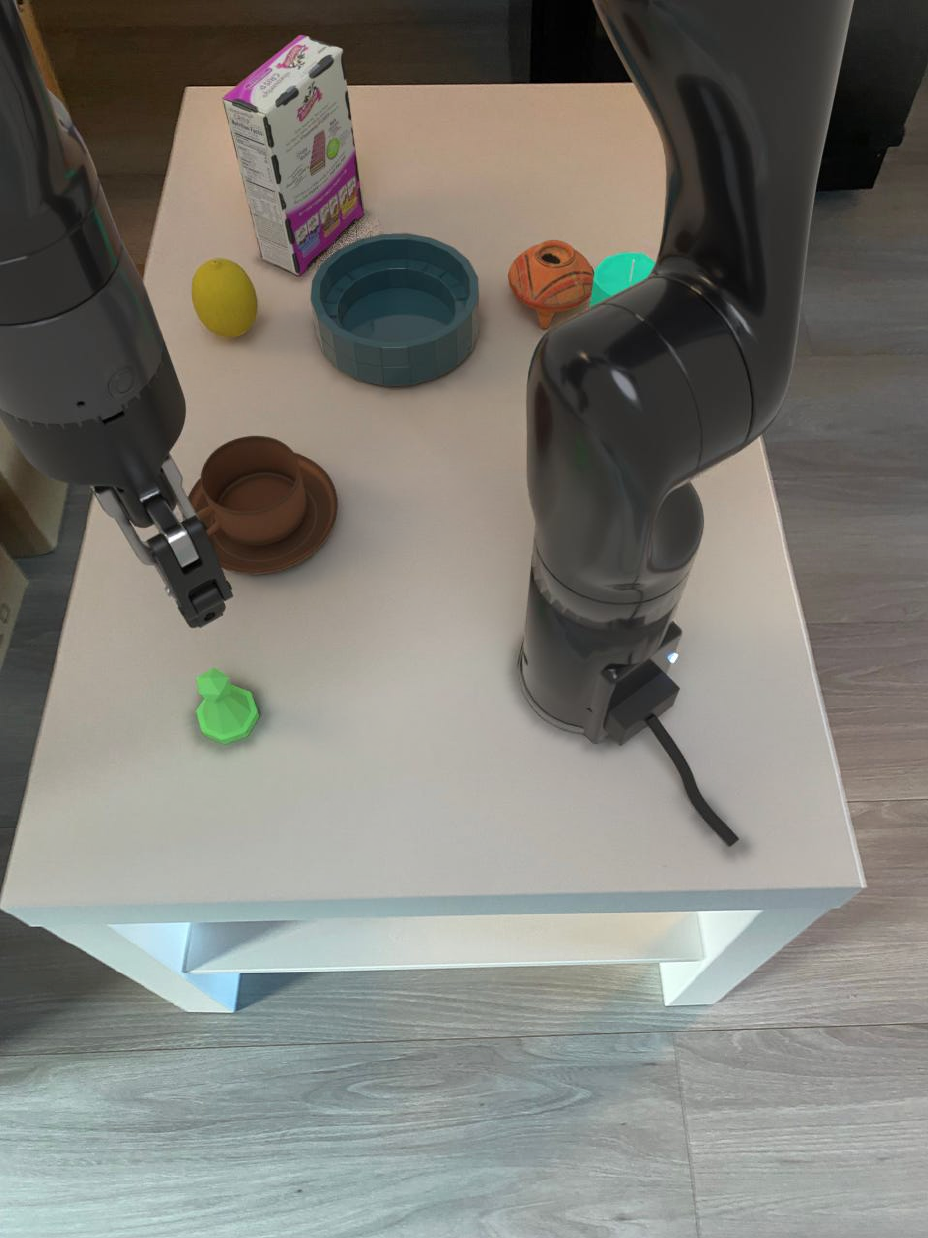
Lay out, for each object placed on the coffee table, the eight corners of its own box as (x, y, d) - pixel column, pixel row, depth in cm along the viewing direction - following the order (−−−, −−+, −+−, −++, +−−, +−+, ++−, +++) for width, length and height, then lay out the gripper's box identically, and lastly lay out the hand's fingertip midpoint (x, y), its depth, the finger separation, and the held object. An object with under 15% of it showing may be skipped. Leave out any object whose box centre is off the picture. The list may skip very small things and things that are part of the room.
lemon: (254, 359, 85) (235, 287, 78) (195, 351, 86) (171, 278, 79) (272, 317, 88) (255, 244, 81) (216, 309, 89) (194, 236, 82)
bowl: (510, 341, 86) (512, 297, 82) (379, 415, 82) (374, 373, 77) (415, 257, 92) (413, 212, 88) (288, 322, 88) (278, 277, 83)
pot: (486, 315, 87) (495, 244, 83) (532, 286, 92) (544, 217, 87) (558, 349, 85) (573, 278, 80) (602, 318, 89) (618, 249, 85)
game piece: (234, 678, 69) (215, 637, 64) (271, 716, 67) (255, 677, 62) (186, 715, 67) (162, 677, 62) (223, 756, 66) (202, 720, 61)
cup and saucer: (282, 609, 72) (267, 563, 66) (158, 545, 75) (134, 496, 70) (369, 500, 77) (361, 449, 72) (250, 443, 80) (234, 391, 75)
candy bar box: (325, 198, 97) (300, 30, 83) (365, 214, 95) (347, 46, 81) (257, 261, 92) (218, 94, 78) (298, 279, 91) (266, 112, 77)
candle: (610, 408, 82) (630, 297, 72) (566, 368, 84) (579, 254, 74) (662, 378, 84) (688, 265, 73) (617, 339, 86) (637, 224, 76)
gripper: (-80, 286, 41) (57, 509, 55) (53, 506, 35) (168, 691, 49) (82, 220, 43) (174, 451, 57) (232, 417, 38) (293, 619, 52)
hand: (171, 562), depth 53 cm, fingers open, 8 cm apart
